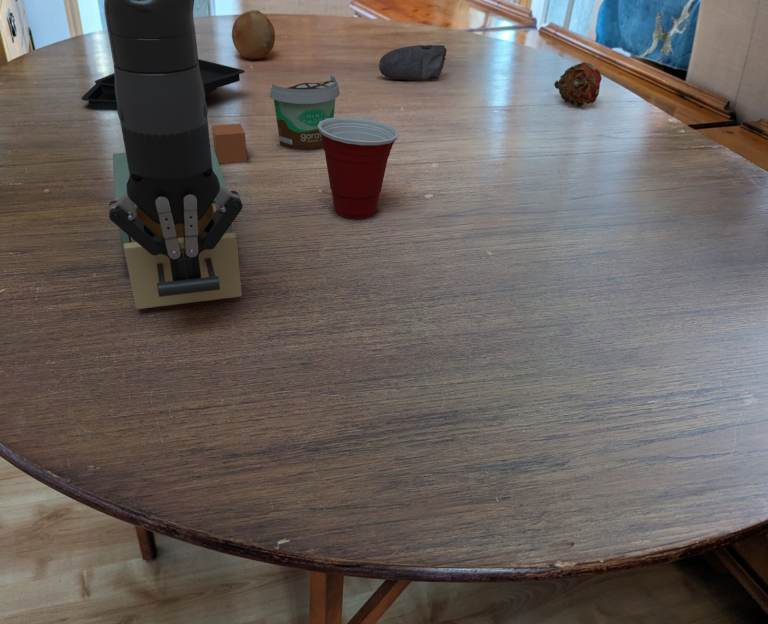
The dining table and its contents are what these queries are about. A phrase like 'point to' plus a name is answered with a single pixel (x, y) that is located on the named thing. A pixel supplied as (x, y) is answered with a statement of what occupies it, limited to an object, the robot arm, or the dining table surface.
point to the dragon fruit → (579, 84)
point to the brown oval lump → (253, 35)
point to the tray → (210, 72)
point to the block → (229, 143)
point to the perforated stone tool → (414, 62)
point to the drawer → (215, 267)
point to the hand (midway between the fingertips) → (187, 285)
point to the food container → (303, 112)
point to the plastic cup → (356, 162)
